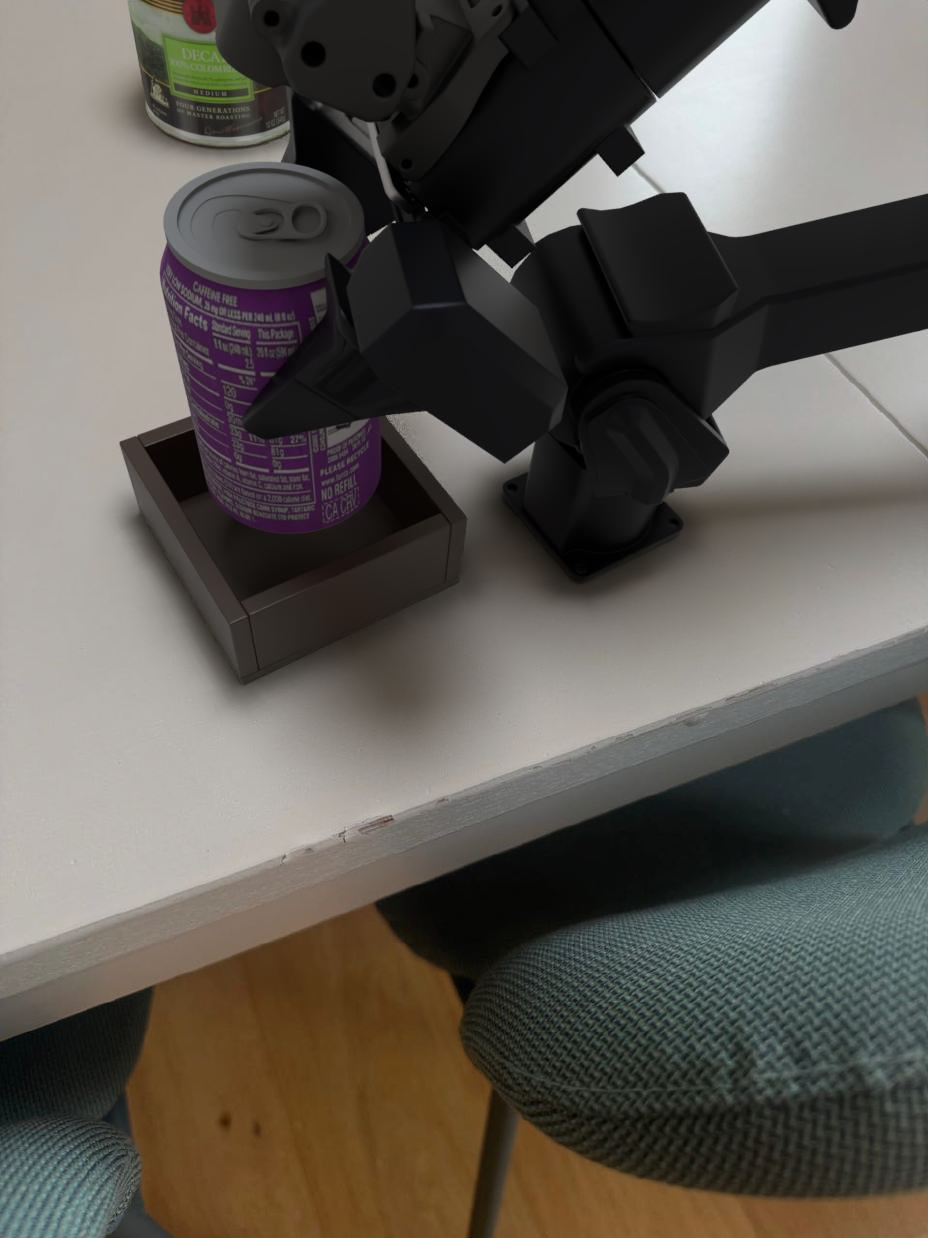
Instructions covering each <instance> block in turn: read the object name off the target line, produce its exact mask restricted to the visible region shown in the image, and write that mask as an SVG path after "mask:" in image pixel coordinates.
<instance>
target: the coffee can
mask: <svg viewBox="0 0 928 1238" xmlns="http://www.w3.org/2000/svg"><path fill="white" fill-rule="evenodd" d="M126 1H127V7H128V12H129V13H128V14H129V18H130V23H131V24H130V25H131V29H132V34H133V39H134V46H135V50H136V55H137V62H138V68H139V72H140V76H141V83H142V88H143V92H144V98H145V102H144V103H145V104H144V105H145V110H146V114H147V115H148V118H149V119H150V120H151V121H152V122H153V123H154V125H155V126H157V127H158V128H159V129H160V130H161V131H162V132H164V133H165V134H167V135H169V136H172V137H173V138H175V139H178V140H180V141H184V142H187V143H190V144H194V145H197V146H198V145H199V146H204V147H209V148H210V147H211V148H243V147H250V146H255V145H259V144H264V143H267V142H270V141H272V140H275V139H278V138H279V137H282V136H284V135H285V134H286V133H288V132H290V122H289V112H288V103H287V93H286V86H284V85H282V86H279V87H276V88H269V87H267V86H265V85H262V84H260V83H257V82H255V81H253V80H251V79H249V78H247V77H245V76H244V75H242V74H241V73H239V72H238V71H236V70H235V69H234V68H232V67H231V66H230V65H229V64H228V63H227V62H226V61H225V60H224V59H223V58H222V56H221V55H220V53H219V51H218V49H217V46H216V40H215V35H216V28H217V23H216V16H215V9H214V3H213V2H211V0H126Z"/></svg>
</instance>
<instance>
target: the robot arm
mask: <svg viewBox="0 0 928 1238" xmlns="http://www.w3.org/2000/svg"><path fill="white" fill-rule="evenodd" d="M806 1H807V2H808V3H809V4H810V6H811V7H812V8H813V9H814V11H815V12H816V13H817V14H818V15H819V16H820V17H821V19H822V20H823V21H824V22H825V23H826V25H827V26H828V27H829V28H830V29H832V30H835V31H837V30H843V29H845V28H846V27H847V26H849V25H850V24H851V23H852V21H853V20H854V18H855V16H856V13H857V9H858V5H859V0H806ZM211 2H213V3H214V9H215V16H216V23H217V28H216V35H215V40H216V46H217V49H218V51H219V53H220V55H221V56H222V58H223V59H224V60H225V61H226V62H227V63H228V64H229V65H230V66H231V67H232V68H234V69H235V70H236V71H238V72H239V73H241V74H242V75H244V76H245V77H247V78H249V79H251V80H253V81H255V82H257V83H260V84H262V85H265V86H267V87H269V88H276V87H279V86H282V85H284V86H286V93H287V103H288V112H289V122H290V130H289V139H288V143H287V145H286V148H285V151H284V153H283V155H282V158H281V160H280V162H282V163H290V164H296V165H301V166H305V167H309V168H312V169H315V170H318V171H320V172H323V173H325V174H327V175H329V176H331V177H333V178H335V179H337V180H338V181H340V182H341V183H343V184H344V185H345V186H346V187H348V188H349V189H350V190H351V191H352V192H353V194H354V195H355V196H356V197H357V199H358V200H359V202H360V204H361V206H362V209H363V212H364V227H365V234H366V236H367V237H370V236H371V235H373V234H376V233H377V232H379V231H380V230H381V231H380V232H379V233H378V234H377V235H376V236H375V237H374V238H373V239H372V240H371V241H370V243H369V244H368V245H367V246H366V247H365V248H364V249H363V250H362V251H361V254H360V256H359V259H358V261H357V263H356V266H355V268H354V271H352V270H351V269H350V268H348V267H347V266H346V265H345V264H343V263H342V262H341V261H339V260H338V259H337V258H335V257H334V256H333V255H331V254H330V253H329V252H328V253H327V254H326V256H325V260H324V265H325V285H326V305H327V309H326V313H325V315H324V317H323V318H322V320H321V321H320V322H319V323H318V324H317V326H316V327H315V328H314V329H313V330H312V331H311V333H310V334H309V335H308V336H307V337H306V338H305V340H304V341H303V342H302V343H301V344H300V345H299V347H298V348H297V349H296V350H295V351H294V352H293V354H292V355H291V356H290V357H289V358H288V360H287V361H286V362H285V363H284V364H283V365H282V367H281V368H280V369H279V370H278V371H277V372H276V374H275V375H274V376H273V377H272V378H271V379H270V381H269V382H268V383H267V384H266V385H265V386H264V388H263V389H262V390H261V391H260V393H259V394H258V395H257V397H256V398H255V400H254V401H253V402H252V404H251V405H250V407H249V408H248V409H247V411H246V412H245V414H244V415H243V417H242V426H243V428H244V430H246V431H248V432H249V433H251V434H253V435H255V436H257V437H259V438H261V439H263V440H271V439H275V438H280V437H285V436H289V435H294V434H299V433H303V432H308V431H313V430H317V429H322V428H326V427H331V426H336V425H340V424H345V423H350V422H354V421H359V420H365V419H369V418H375V417H380V416H386V417H387V416H393V415H402V414H403V415H404V414H412V413H420V412H427V413H428V414H430V415H431V416H433V417H434V418H435V419H437V420H438V421H440V422H442V423H443V424H444V425H446V426H447V427H449V428H451V429H452V430H453V431H455V432H456V433H458V434H459V435H461V436H462V437H464V438H465V439H467V440H468V441H469V442H471V443H473V444H474V445H476V446H477V447H478V448H480V449H482V450H483V451H485V452H486V453H487V454H489V455H490V456H492V457H494V458H495V459H497V461H499V462H501V463H502V464H504V465H506V464H507V463H508V462H509V461H511V460H512V459H514V458H515V457H517V456H518V455H519V454H520V453H522V452H523V451H524V450H526V449H527V448H528V447H530V446H532V445H533V444H534V445H533V449H532V454H531V458H530V463H529V469H528V471H527V472H524V473H522V474H519V475H518V476H515V477H513V478H510V479H509V480H506V481H505V482H503V484H502V487H501V496H502V498H503V499H504V501H505V502H506V503H507V504H508V505H509V507H511V509H512V510H513V511H514V513H515V514H516V515H517V516H518V517H519V519H521V521H522V522H523V523H524V525H526V527H527V528H528V529H529V530H530V532H532V534H533V535H534V536H535V537H536V538H537V540H538V542H540V543H541V544H542V546H543V547H544V548H545V550H546V551H548V553H549V554H550V555H551V556H552V558H553V559H554V560H555V561H556V562H557V563H558V565H559V566H560V567H561V568H562V569H563V571H564V572H565V573H566V574H567V576H568V577H569V578H570V579H571V580H572V581H574V582H575V583H579V584H580V583H581V584H583V583H584V584H585V583H586V582H589V581H591V580H594V578H596V577H599V576H601V575H603V574H604V573H607V572H608V571H610V570H613V569H614V568H617V567H618V566H621V565H622V564H625V563H626V562H629V561H631V560H633V559H634V558H636V557H638V556H640V555H642V554H645V553H646V552H648V551H650V550H652V549H654V548H656V547H658V546H660V545H662V544H664V543H667V542H668V541H669V540H671V539H674V538H675V537H677V536H679V535H680V534H681V533H682V531H683V529H684V526H685V525H684V521H683V518H681V517H680V516H679V514H677V513H676V511H675V510H674V509H673V508H671V506H670V505H669V504H668V503H667V502H666V501H665V500H666V498H667V497H668V496H669V495H670V494H674V492H675V490H679V489H689V488H697V487H700V486H702V485H703V484H704V483H705V482H706V481H707V480H708V479H709V478H710V477H711V475H712V474H714V472H715V471H716V470H717V469H718V467H719V466H721V464H722V463H723V462H724V461H725V460H726V459H727V457H728V456H729V455H730V448H729V446H728V444H727V441H726V440H725V437H724V435H723V434H722V431H721V430H720V428H719V425H718V423H717V421H716V419H715V417H714V412H716V411H717V410H718V409H719V408H720V407H721V406H722V405H723V404H724V403H725V402H726V401H727V400H728V399H729V398H730V397H731V396H733V394H734V393H735V392H737V390H738V389H740V388H741V386H743V385H744V384H745V383H746V382H747V381H748V380H749V379H750V378H752V376H753V375H754V374H755V373H756V372H759V371H762V370H765V369H767V368H770V367H771V368H772V367H774V366H778V365H783V364H786V363H790V362H795V361H800V360H803V359H808V358H813V357H816V356H820V355H821V356H822V355H824V354H829V353H833V352H838V351H841V350H845V349H850V348H854V347H858V346H862V345H867V344H871V343H876V342H879V341H885V340H888V339H892V338H896V337H901V336H904V335H909V334H912V333H917V332H922V331H926V330H928V193H923V194H919V195H915V196H911V197H910V196H909V197H906V198H902V199H898V200H894V201H889V202H886V203H885V202H884V203H880V204H877V205H873V206H868V207H863V208H860V209H856V210H852V211H847V212H843V213H839V214H835V215H830V216H826V217H822V218H818V219H813V220H810V221H804V222H800V223H796V224H793V225H788V226H784V227H780V228H776V229H775V228H774V229H772V230H771V229H770V230H767V231H762V232H759V233H755V234H750V235H744V236H743V235H741V236H729V235H725V234H720V233H717V232H713V231H708V230H707V228H706V226H705V225H704V223H703V221H702V220H701V217H700V216H699V214H698V212H697V211H696V209H695V207H694V205H693V204H692V202H691V199H690V198H689V196H688V194H686V193H685V192H683V191H675V192H672V191H671V192H662V193H657V194H655V195H652V196H650V197H648V198H645V199H642V200H640V201H638V202H635V203H632V204H629V205H625V206H622V207H618V208H617V207H616V208H610V209H596V208H595V209H594V208H587V207H581V208H579V209H577V210H576V217H577V219H578V221H579V224H575V225H569V226H567V227H564V228H562V229H559V230H557V231H554V232H551V233H548V234H547V235H545V236H544V237H542V238H540V239H539V240H537V241H536V242H535V241H534V238H533V236H532V233H531V230H530V227H529V226H528V223H527V220H526V219H527V218H528V217H529V216H530V215H531V214H533V213H534V212H535V211H536V210H537V209H538V208H539V207H540V206H542V205H543V204H544V203H545V202H546V201H547V200H548V199H549V198H551V197H552V196H553V195H554V194H555V193H556V192H558V191H559V189H561V188H562V187H563V186H564V185H565V184H566V183H567V182H569V180H570V179H572V178H573V177H574V176H576V174H577V173H579V172H580V171H581V170H582V169H583V168H584V167H586V165H588V164H589V163H590V162H591V161H592V160H593V159H594V158H596V156H599V157H600V158H601V160H602V161H603V162H604V164H606V166H607V167H608V168H609V169H610V171H612V173H613V174H614V175H615V176H616V178H619V177H620V176H621V175H622V174H623V173H624V172H625V171H627V170H628V169H629V168H630V167H631V166H633V164H635V163H636V162H637V161H638V160H639V159H640V158H642V157H643V156H644V155H645V154H646V151H645V150H644V148H643V146H642V144H641V142H640V140H639V139H638V137H637V135H636V133H635V132H634V130H633V128H632V126H631V125H633V123H635V122H636V121H637V120H638V119H640V118H641V116H642V115H644V114H645V113H646V112H647V111H648V110H649V109H650V108H651V107H653V106H654V105H655V104H656V103H657V102H658V100H657V99H659V100H661V99H662V98H663V97H664V96H665V95H666V94H667V93H668V92H670V90H671V89H673V88H675V86H676V85H678V84H679V83H680V82H681V81H682V80H683V79H684V78H686V77H687V75H688V74H690V73H691V72H692V71H693V70H694V69H696V68H697V67H698V66H699V65H700V64H701V63H702V62H703V61H705V59H707V58H708V57H709V56H710V55H711V54H712V53H713V52H715V50H717V49H718V48H719V47H720V46H721V45H722V44H723V43H725V42H726V41H727V40H728V39H729V38H731V36H733V35H734V34H735V33H736V32H737V31H738V30H739V29H740V28H741V27H742V26H743V25H745V24H746V23H747V22H749V20H750V19H751V18H753V16H755V15H756V14H757V13H759V11H761V10H762V9H763V8H764V7H765V6H766V5H767V4H769V2H771V0H211ZM484 246H486V247H487V248H488V249H490V250H491V251H492V252H493V253H494V254H495V255H496V256H497V257H498V258H499V259H501V260H502V261H503V262H504V263H505V264H506V265H507V267H509V268H510V269H514V268H515V267H516V266H517V265H519V266H518V267H517V268H515V271H514V272H513V275H512V277H511V279H510V280H509V281H508V280H507V279H506V278H505V277H503V275H501V273H499V272H498V271H497V270H496V269H495V268H494V267H492V265H491V264H489V262H487V261H486V260H485V259H484V258H483V257H481V256H480V255H479V254H478V253H477V252H479V251H480V250H481V249H482V248H483V247H484ZM521 261H522V262H521ZM520 262H521V263H520ZM672 525H673V526H672ZM578 570H580V571H583V572H579V571H578Z"/></svg>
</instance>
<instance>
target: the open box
mask: <svg viewBox="0 0 928 1238" xmlns="http://www.w3.org/2000/svg"><path fill="white" fill-rule="evenodd" d="M118 444H119V448H120V451H121V454H122V457H123V460H124V463H125V464H124V465H125V467H126V470H127V474H128V477H129V480H130V484H131V487H132V490H133V493H134V497H135V499H136V503H137V505H138V509H139V512H140V514H141V516H142V517H143V519H144V521H145V522H146V524H147V526H148V528H149V529H150V531H151V532H152V534H153V536H154V537H155V540H156V541H157V543H158V544H159V546H160V547H161V550H162V552H163V553H164V555H165V556H166V558H167V560H168V562H169V563H170V565H171V567H172V568H173V570H174V572H175V574H176V575H177V577H178V578H179V581H180V582H181V583H182V585H183V587H184V589H185V590H186V592H187V594H188V596H189V597H190V599H191V600H192V602H193V604H194V605H195V608H196V609H197V610H198V612H199V614H200V616H201V617H202V619H203V621H204V623H205V624H206V626H207V628H208V629H209V632H210V633H211V634H212V636H213V638H214V639H215V641H216V643H217V645H218V646H219V648H220V650H221V651H222V653H223V655H224V657H225V658H226V660H227V662H228V663H229V666H231V668H232V670H233V672H234V673H235V675H236V677H237V679H238V680H239V681H240V683H241V685H245V684H247V683H250V682H252V681H254V680H256V679H259V678H261V677H263V676H264V675H267V674H269V673H271V672H272V671H275V670H276V669H279V668H282V667H283V666H285V665H287V664H289V663H291V662H294V661H295V660H298V659H300V658H302V657H304V656H306V655H309V654H310V653H312V652H314V651H317V650H319V649H321V648H324V647H325V646H327V645H329V644H331V643H334V642H335V641H338V640H340V639H343V638H344V637H346V636H347V635H348V636H349V635H350V634H352V633H354V632H356V631H358V630H360V629H363V628H365V627H368V626H369V625H371V624H373V623H375V622H377V621H381V620H382V619H384V618H385V617H388V616H390V615H392V614H394V613H397V612H399V611H401V610H402V609H405V608H407V607H409V606H411V605H413V604H416V603H417V602H420V601H422V600H424V599H426V598H428V597H430V596H432V595H434V594H436V593H438V592H440V591H443V590H445V589H447V588H448V587H451V586H453V585H455V584H457V583H459V582H460V577H461V576H460V575H461V571H462V564H463V563H462V562H463V556H464V548H465V540H466V532H467V527H468V526H467V525H468V520H469V519H468V516H467V514H465V512H464V511H463V510H462V509H461V508H460V506H459V505H458V504H457V502H456V501H455V500H454V499H453V498H452V496H451V495H450V494H449V493H448V491H447V490H446V489H445V488H444V486H443V485H442V484H441V483H440V481H439V479H437V478H436V476H435V475H434V474H433V472H431V470H430V469H429V468H428V467H427V465H426V464H425V463H424V462H423V460H422V459H421V458H420V457H419V456H418V454H417V453H416V452H415V450H414V449H413V448H412V447H411V445H410V444H409V443H408V442H407V441H406V439H405V438H404V437H403V436H402V434H401V433H400V432H399V431H398V429H397V428H396V427H395V426H394V424H393V423H392V422H391V420H389V418H388V417H387V416H381V475H380V479H379V483H378V485H377V488H376V489H375V491H374V493H373V495H372V496H371V498H370V499H369V500H368V501H367V503H366V504H365V505H364V506H363V507H362V508H361V509H360V510H358V511H357V512H356V513H355V514H353V515H352V516H350V517H349V518H347V519H345V520H344V521H342V522H340V523H338V524H335V525H333V526H330V527H328V528H324V529H321V530H317V531H312V532H306V533H295V534H286V533H274V532H268V531H264V530H260V529H256V528H253V527H251V526H248V525H246V524H244V523H241V522H240V521H238V520H236V519H235V518H233V517H232V516H230V515H229V514H228V513H226V512H225V511H224V510H223V509H222V508H221V507H220V506H219V505H218V504H217V503H216V501H215V500H214V498H213V497H212V495H211V493H210V491H209V489H208V486H207V483H206V478H205V474H204V470H203V465H202V461H201V457H200V452H199V448H198V444H197V439H196V435H195V431H194V426H193V422H192V418H191V415H189V416H187V417H183V418H181V419H178V420H175V421H172V422H170V423H167V424H164V425H161V426H158V427H155V428H153V429H150V430H147V431H144V432H142V433H139V434H137V435H134V436H130V437H128V438H126V439H123V440H120V441H119V443H118Z"/></svg>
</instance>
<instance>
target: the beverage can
mask: <svg viewBox="0 0 928 1238" xmlns="http://www.w3.org/2000/svg"><path fill="white" fill-rule="evenodd" d="M162 219H163V221H162V224H163V230H164V235H165V240H166V244H165V246H164V250H163V252H162V256H161V260H160V266H159V280H160V288H161V292H162V296H163V299H164V300H163V301H164V305H165V310H166V313H167V318H168V322H169V327H170V331H171V335H172V340H173V343H174V348H175V353H176V357H177V361H178V365H179V370H180V374H181V379H182V383H183V387H184V392H185V396H186V399H187V404H188V407H189V408H188V409H189V413H190V416H191V418H192V422H193V426H194V431H195V435H196V439H197V444H198V448H199V452H200V457H201V461H202V465H203V470H204V474H205V478H206V483H207V486H208V489H209V491H210V493H211V495H212V497H213V498H214V500H215V501H216V503H217V504H218V505H219V506H220V507H221V508H222V509H223V510H224V511H225V512H226V513H228V514H229V515H230V516H232V517H233V518H235V519H236V520H238V521H240V522H241V523H244V524H246V525H248V526H251V527H253V528H256V529H260V530H264V531H268V532H274V533H286V534H295V533H306V532H312V531H317V530H321V529H324V528H328V527H330V526H333V525H335V524H338V523H340V522H342V521H344V520H345V519H347V518H349V517H350V516H352V515H353V514H355V513H356V512H357V511H358V510H360V509H361V508H362V507H363V506H364V505H365V504H366V503H367V501H368V500H369V499H370V498H371V496H372V495H373V493H374V491H375V489H376V488H377V485H378V483H379V479H380V475H381V416H380V417H375V418H369V419H365V420H359V421H354V422H350V423H345V424H340V425H336V426H331V427H326V428H322V429H317V430H313V431H308V432H303V433H299V434H294V435H289V436H285V437H280V438H275V439H271V440H263V439H261V438H259V437H257V436H255V435H253V434H251V433H249V432H248V431H246V430H244V428H243V426H242V417H243V415H244V414H245V412H246V411H247V409H248V408H249V407H250V405H251V404H252V402H253V401H254V400H255V398H256V397H257V395H258V394H259V393H260V391H261V390H262V389H263V388H264V386H265V385H266V384H267V383H268V382H269V381H270V379H271V378H272V377H273V376H274V375H275V374H276V372H277V371H278V370H279V369H280V368H281V367H282V365H283V364H284V363H285V362H286V361H287V360H288V358H289V357H290V356H291V355H292V354H293V352H294V351H295V350H296V349H297V348H298V347H299V345H300V344H301V343H302V342H303V341H304V340H305V338H306V337H307V336H308V335H309V334H310V333H311V331H312V330H313V329H314V328H315V327H316V326H317V324H318V323H319V322H320V321H321V320H322V318H323V317H324V315H325V313H326V309H327V305H326V285H325V265H324V260H325V256H326V254H327V253H328V252H329V253H330V254H331V255H333V256H334V257H335V258H337V259H338V260H339V261H341V262H342V263H343V264H345V265H346V266H347V267H348V268H350V269H351V270H352V271H354V268H355V266H356V263H357V261H358V259H359V256H360V254H361V251H362V250H363V249H364V248H365V247H366V246H367V245H368V244H369V243H370V242H371V241H370V239H369V238H368V237H369V236H368V237H367V236H366V234H365V227H364V212H363V209H362V206H361V204H360V202H359V200H358V199H357V197H356V196H355V195H354V194H353V192H352V191H351V190H350V189H349V188H348V187H346V186H345V185H344V184H343V183H341V182H340V181H338V180H337V179H335V178H333V177H331V176H329V175H327V174H325V173H323V172H320V171H318V170H315V169H312V168H309V167H305V166H301V165H296V164H290V163H282V162H281V161H250V162H249V161H248V162H239V163H235V164H229V165H225V166H223V167H222V166H221V167H219V168H215V169H212V170H210V171H207V172H204V173H202V174H200V175H198V176H197V177H194V178H192V179H191V180H189V181H188V182H186V183H185V184H183V186H182V187H180V188H179V189H178V190H177V191H176V192H175V193H174V195H172V197H171V198H170V199H169V201H168V203H167V205H166V206H165V210H164V213H163V217H162Z"/></svg>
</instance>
